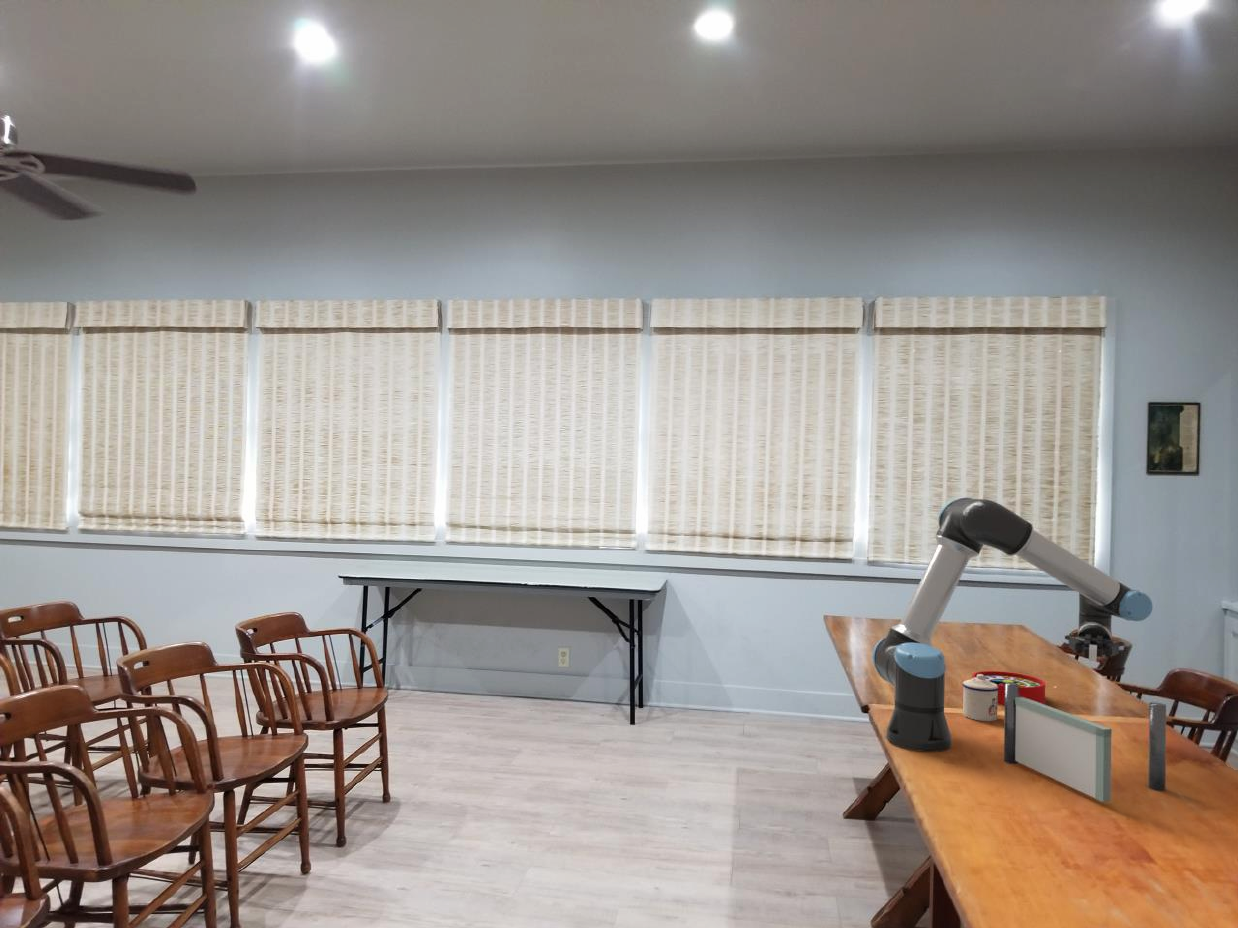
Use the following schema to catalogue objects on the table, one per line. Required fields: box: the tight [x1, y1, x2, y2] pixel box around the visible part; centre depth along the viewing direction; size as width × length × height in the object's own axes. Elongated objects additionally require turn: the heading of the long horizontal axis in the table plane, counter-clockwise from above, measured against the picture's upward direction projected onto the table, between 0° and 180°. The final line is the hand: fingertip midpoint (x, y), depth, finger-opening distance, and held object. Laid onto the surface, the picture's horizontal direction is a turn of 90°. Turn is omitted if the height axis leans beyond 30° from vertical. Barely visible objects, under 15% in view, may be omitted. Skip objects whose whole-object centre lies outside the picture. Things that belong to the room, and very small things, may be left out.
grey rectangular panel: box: [1015, 697, 1112, 803], centre depth 173 cm, size 24×2×15 cm, turn 15°
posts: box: [1003, 682, 1167, 792], centre depth 179 cm, size 31×3×18 cm, turn 59°
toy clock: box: [971, 670, 1046, 706], centre depth 243 cm, size 20×6×20 cm
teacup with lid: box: [962, 674, 999, 722], centre depth 223 cm, size 12×9×12 cm
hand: (1092, 655), depth 185 cm, fingers closed
